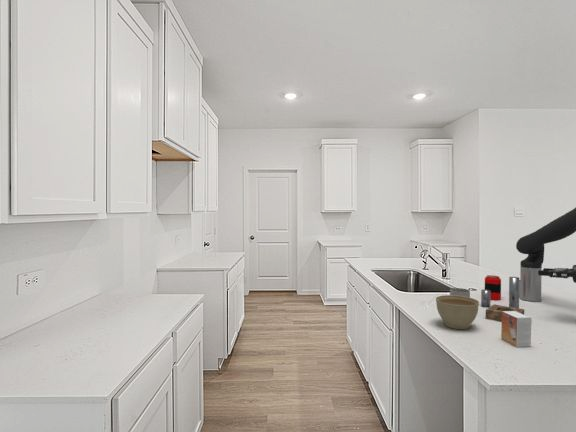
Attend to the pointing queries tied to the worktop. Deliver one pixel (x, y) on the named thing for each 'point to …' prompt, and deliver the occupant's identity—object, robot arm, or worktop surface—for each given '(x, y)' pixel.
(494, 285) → the soda can
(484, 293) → the short steel pin
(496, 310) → the walnut bored block
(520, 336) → the small box
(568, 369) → the worktop surface
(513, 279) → the long steel pin
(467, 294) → the cup
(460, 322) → the planter bowl
